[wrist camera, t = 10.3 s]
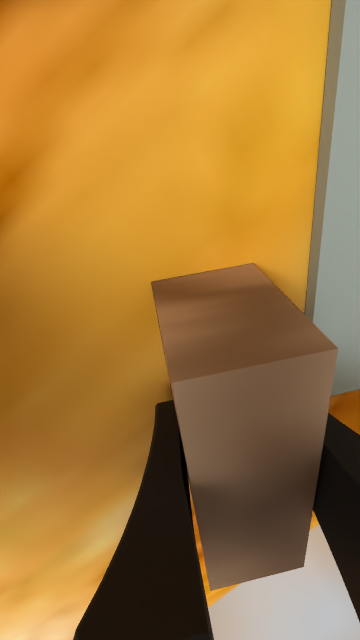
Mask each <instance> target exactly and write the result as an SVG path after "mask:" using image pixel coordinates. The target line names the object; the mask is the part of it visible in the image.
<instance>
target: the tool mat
mask: <svg viewBox="0 0 360 640" xmlns="http://www.w3.org/2000/svg"><path fill="white" fill-rule="evenodd" d="M305 315H306V316H307V317H308V318H309V319H310V320H311V321H312V322H313V323H314V324H315V325H316V326H317V327H318V328H319V329H320V330H321V331H322V332H323V333H324V334H325V335H326V336H327V337H328V338H329V339H330V340H331V341H332V342H333V343H334V344H335V345H336V346H337V348H338V354H337V360H336V366H335V373H334V379H333V385H332V392H331V396H332V395H337V394H342V393H346V392H351V391H355V390H360V0H332V6H331V18H330V29H329V41H328V52H327V64H326V75H325V87H324V99H323V110H322V122H321V133H320V145H319V156H318V168H317V180H316V191H315V203H314V214H313V226H312V237H311V249H310V260H309V272H308V284H307V295H306V307H305Z"/></svg>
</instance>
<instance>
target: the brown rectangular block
mask: <svg viewBox="0 0 360 640" xmlns="http://www.w3.org/2000/svg"><path fill="white" fill-rule="evenodd" d="M151 285H152V291H153V296H154V301H155V306H156V312H157V317H158V322H159V327H160V333H161V338H162V343H163V348H164V354H165V359H166V364H167V369H168V375H169V380H170V385H171V390H172V396H173V400H174V404H175V409H176V414H177V419H178V424H179V430H180V435H181V440H182V445H183V451H184V456H185V461H186V467H187V472H188V479H189V484H190V489H191V495H192V500H193V505H194V510H195V515H196V520H197V525H198V530H199V535H200V540H201V545H202V550H203V555H204V560H205V565H206V570H207V575H208V580H209V586H210V591H211V590H215V589H219V588H223V587H227V586H231V585H235V584H239V583H243V582H246V581H250V580H254V579H258V578H262V577H266V576H270V575H274V574H278V573H282V572H285V571H289V570H293V569H297V568H301V567H304V560H305V555H306V548H307V541H308V536H309V529H310V523H311V517H312V511H313V504H314V498H315V492H316V486H317V479H318V473H319V467H320V461H321V454H322V448H323V442H324V435H325V429H326V423H327V417H328V410H329V404H330V398H331V392H332V385H333V379H334V373H335V366H336V360H337V354H338V348H337V346H336V345H335V344H334V343H333V342H332V341H331V340H330V339H329V338H328V337H327V336H326V335H325V334H324V333H323V332H322V331H321V330H320V329H319V328H318V327H317V326H316V325H315V324H314V323H313V322H312V321H311V320H310V319H309V318H308V317H307V316H306V315H305V314H304V313H303V312H302V311H301V310H300V309H299V308H298V307H297V306H296V305H295V304H294V303H293V302H292V301H291V300H290V299H289V298H288V297H287V296H286V295H285V294H284V293H283V292H282V291H281V290H280V289H279V288H278V287H277V286H276V285H275V284H274V283H273V282H272V281H271V280H270V279H269V278H268V277H267V276H266V275H265V274H264V273H263V272H262V271H261V270H260V269H259V268H258V267H257V266H256V265H255V264H254V263H251V264H246V265H240V266H235V267H229V268H224V269H219V270H213V271H208V272H202V273H197V274H191V275H186V276H180V277H175V278H170V279H164V280H159V281H153V282H151Z"/></svg>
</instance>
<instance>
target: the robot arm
mask: <svg viewBox="0 0 360 640" xmlns="http://www.w3.org/2000/svg"><path fill="white" fill-rule="evenodd" d="M313 511H314V513H315V515H316V517H317V520H318V522H319V524H320V526H321V529H322V531H323V533H324V535H325V538H326V540H327V542H328V545H329V547H330V550H331V552H332V554H333V557H334V559H335V561H336V564H337V566H338V569H339V571H340V573H341V576H342V578H343V581H344V583H345V586H346V588H347V590H348V593H349V596H350V598H351V601H352V603H353V606H354V608H355V610H356V613H357V616H358V619H359V621H360V435H359V434H357V433H356V432H354V431H353V430H352V429H350V428H349V427H347V426H346V425H344V424H343V423H342V422H340V421H339V420H337V419H336V418H335V417H333V416H332V415H331V414H329V413H328V417H327V423H326V429H325V435H324V442H323V448H322V454H321V461H320V467H319V473H318V479H317V486H316V492H315V498H314V504H313ZM73 640H214V638H213V633H212V628H211V622H210V617H209V612H208V606H207V601H206V596H205V590H204V585H203V579H202V574H201V569H200V563H199V558H198V553H197V547H196V542H195V535H194V528H193V519H192V510H191V500H190V491H189V482H188V472H187V467H186V461H185V456H184V451H183V445H182V440H181V435H180V430H179V424H178V419H177V414H176V409H175V404H174V400H171V401H166V402H162V403H158V404H157V405H156V406H155V424H154V431H153V437H152V442H151V447H150V452H149V456H148V461H147V464H146V468H145V472H144V475H143V479H142V482H141V486H140V489H139V492H138V495H137V498H136V501H135V504H134V507H133V509H132V512H131V515H130V517H129V520H128V522H127V525H126V528H125V530H124V533H123V535H122V537H121V540H120V542H119V544H118V547H117V549H116V551H115V553H114V555H113V558H112V560H111V562H110V564H109V566H108V568H107V570H106V573H105V575H104V577H103V579H102V581H101V583H100V585H99V587H98V589H97V591H96V593H95V595H94V597H93V598H92V600H91V602H90V604H89V606H88V608H87V610H86V612H85V613H84V615H83V617H82V619H81V621H80V623H79V625H78V627H77V629H76V631H75V635H74V638H73Z"/></svg>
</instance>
